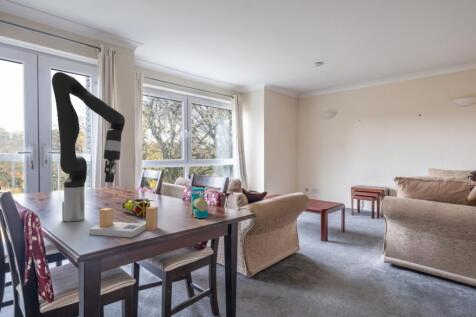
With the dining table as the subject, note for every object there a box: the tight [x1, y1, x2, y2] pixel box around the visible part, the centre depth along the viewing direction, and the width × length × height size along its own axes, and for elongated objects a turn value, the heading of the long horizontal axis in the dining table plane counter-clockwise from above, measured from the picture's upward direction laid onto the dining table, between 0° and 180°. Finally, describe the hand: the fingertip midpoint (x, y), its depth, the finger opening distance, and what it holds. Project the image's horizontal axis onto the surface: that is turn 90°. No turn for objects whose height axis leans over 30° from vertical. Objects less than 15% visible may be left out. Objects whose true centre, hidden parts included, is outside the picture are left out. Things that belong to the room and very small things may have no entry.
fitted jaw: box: [99, 207, 114, 227], centre depth 124 cm, size 4×4×10 cm
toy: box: [121, 197, 155, 218], centre depth 160 cm, size 16×9×30 cm
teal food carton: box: [189, 187, 209, 219], centre depth 156 cm, size 8×17×15 cm, turn 22°
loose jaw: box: [145, 205, 159, 231], centre depth 129 cm, size 4×4×10 cm
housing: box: [89, 221, 147, 238], centre depth 123 cm, size 20×12×2 cm, turn 81°
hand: (109, 182), depth 136 cm, fingers open, 8 cm apart
